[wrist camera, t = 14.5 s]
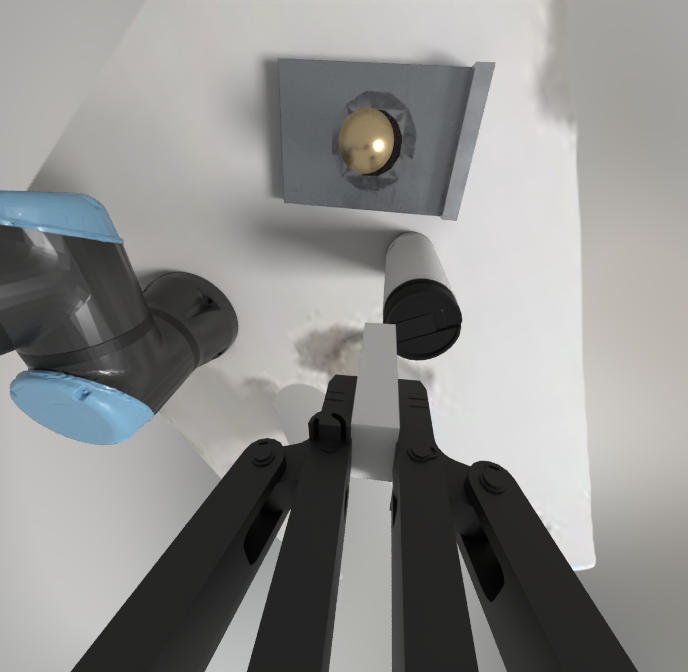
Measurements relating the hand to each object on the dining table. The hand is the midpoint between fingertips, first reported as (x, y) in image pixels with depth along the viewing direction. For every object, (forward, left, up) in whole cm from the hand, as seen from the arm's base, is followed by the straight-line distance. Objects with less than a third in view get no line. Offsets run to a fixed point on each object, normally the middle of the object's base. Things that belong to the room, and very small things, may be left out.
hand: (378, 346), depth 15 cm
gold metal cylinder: (-3, +9, -27) cm, 29 cm away
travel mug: (+3, -3, -28) cm, 28 cm away
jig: (-3, +9, -27) cm, 29 cm away
